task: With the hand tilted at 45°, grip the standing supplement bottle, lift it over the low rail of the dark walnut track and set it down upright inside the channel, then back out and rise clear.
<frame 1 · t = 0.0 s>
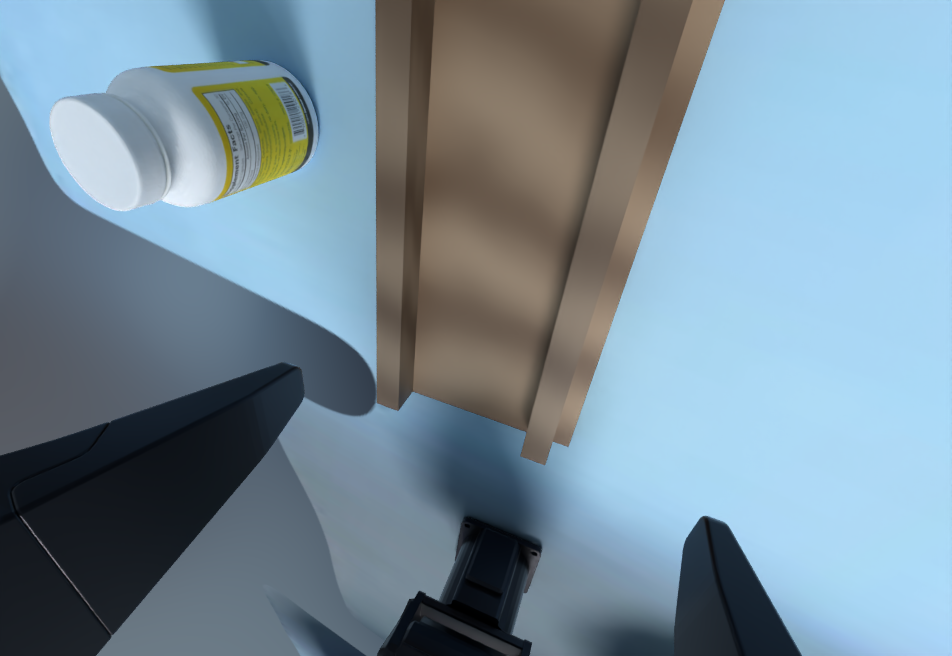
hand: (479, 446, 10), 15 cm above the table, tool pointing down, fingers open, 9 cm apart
walnut track: (504, 212, 22), on the table
supplement bottle: (281, 118, 24), on the table
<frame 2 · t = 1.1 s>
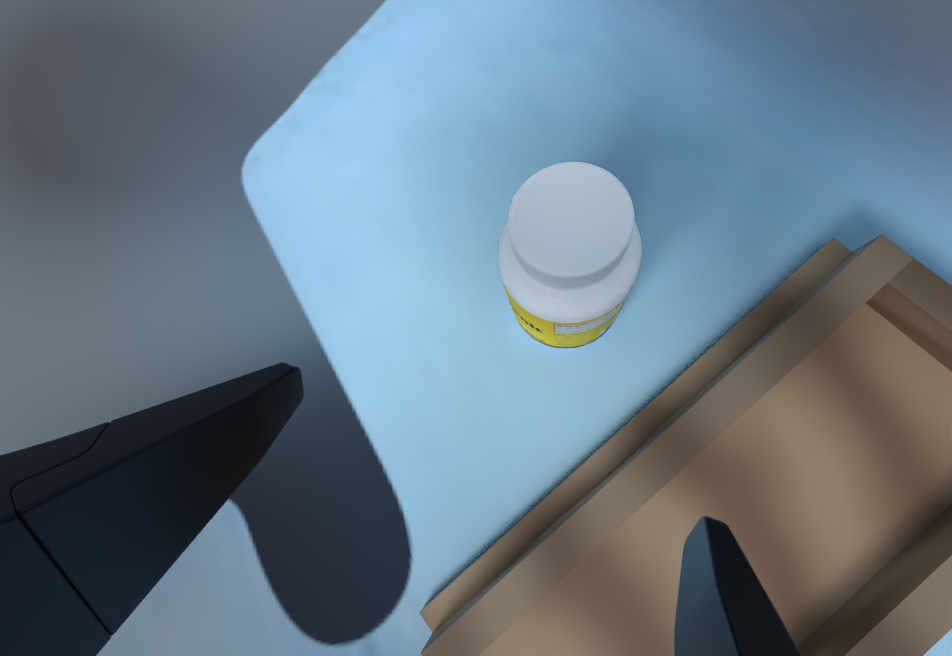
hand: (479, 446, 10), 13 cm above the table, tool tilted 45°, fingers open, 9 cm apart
walnut track: (735, 536, 20), on the table
supplement bottle: (563, 302, 24), on the table
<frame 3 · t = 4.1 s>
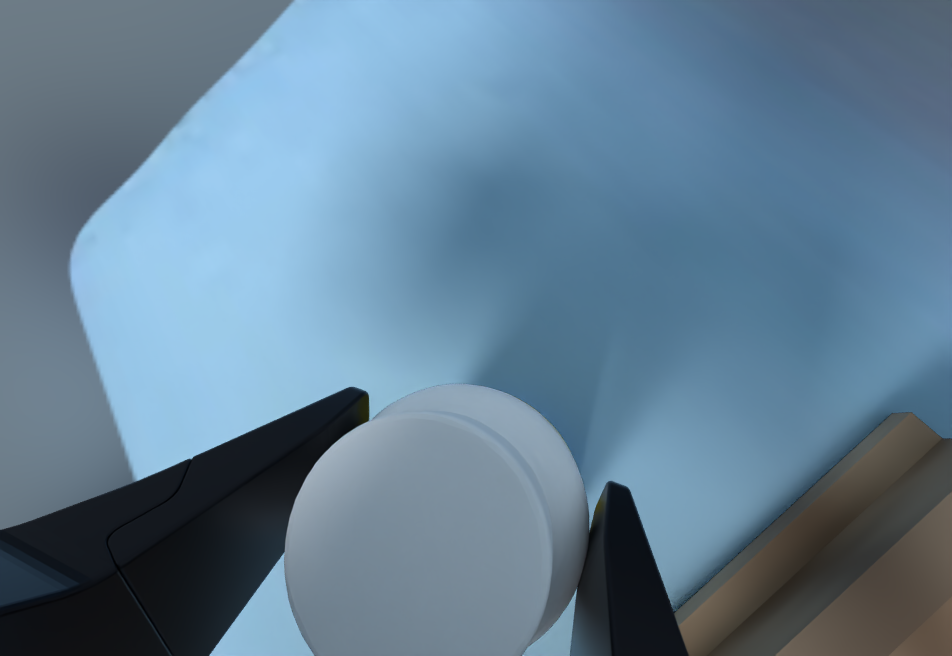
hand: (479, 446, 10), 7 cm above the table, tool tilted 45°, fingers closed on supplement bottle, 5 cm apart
supplement bottle: (496, 479, 16), on the table, touching gripper
when the fingers open (8 cm above the table, at t = 8.8 s): supplement bottle stays where it is, resting on walnut track.
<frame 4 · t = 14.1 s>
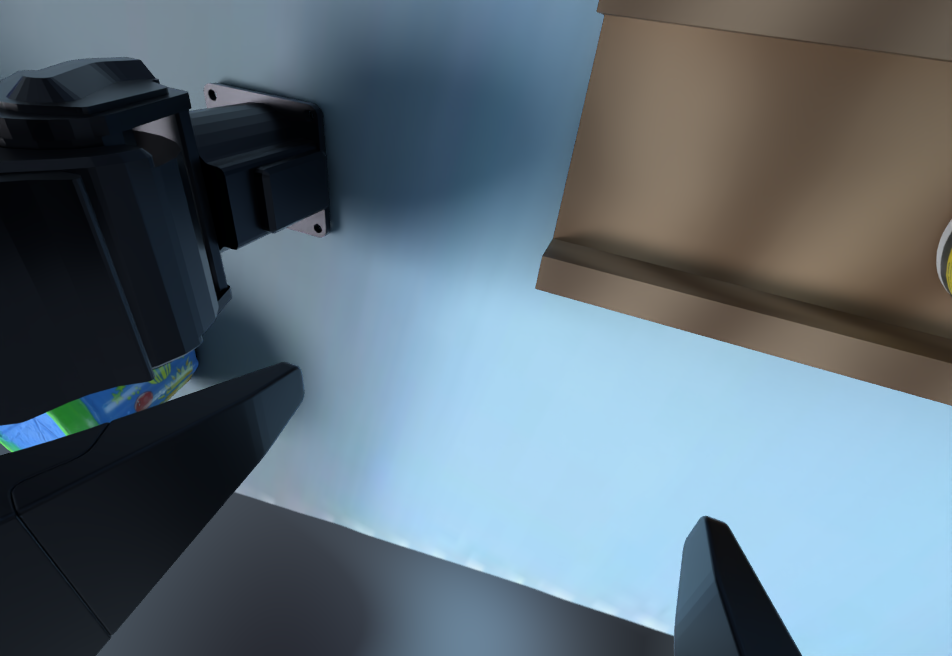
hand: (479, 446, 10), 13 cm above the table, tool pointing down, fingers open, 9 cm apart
snack cup: (165, 335, 36), on the table
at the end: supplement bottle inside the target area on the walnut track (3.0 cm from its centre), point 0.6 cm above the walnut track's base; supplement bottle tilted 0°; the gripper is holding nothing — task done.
